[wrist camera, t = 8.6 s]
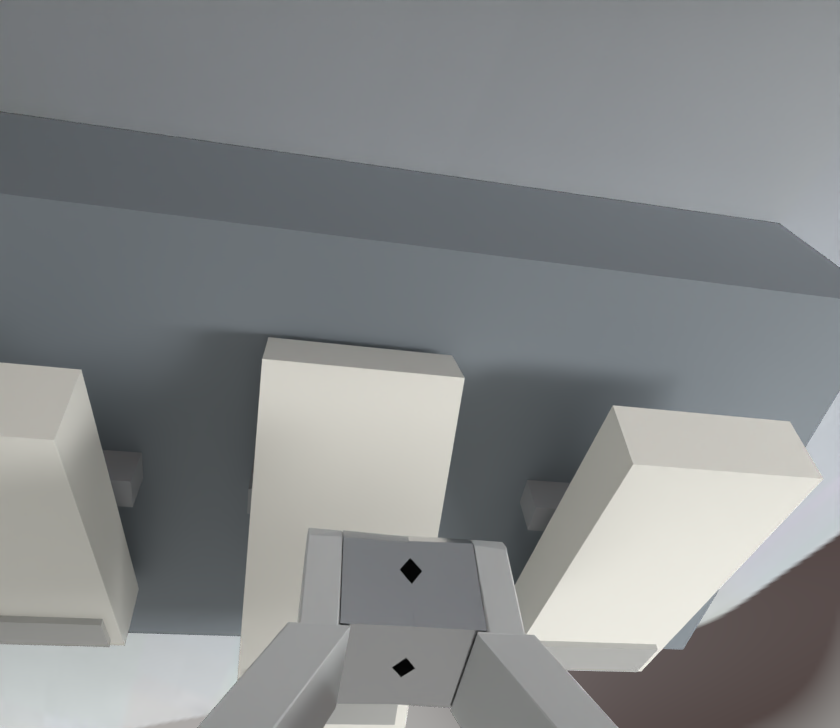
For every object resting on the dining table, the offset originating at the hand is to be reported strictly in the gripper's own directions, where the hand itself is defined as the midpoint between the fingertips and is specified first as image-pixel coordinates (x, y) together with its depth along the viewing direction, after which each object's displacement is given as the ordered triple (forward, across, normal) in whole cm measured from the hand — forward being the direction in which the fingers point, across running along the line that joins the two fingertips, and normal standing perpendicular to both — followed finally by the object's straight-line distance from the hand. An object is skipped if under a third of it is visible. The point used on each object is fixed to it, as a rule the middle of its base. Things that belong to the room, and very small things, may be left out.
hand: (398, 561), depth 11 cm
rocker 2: (+4, +1, +4) cm, 5 cm away
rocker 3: (+4, -6, +4) cm, 8 cm away
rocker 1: (+4, +8, +4) cm, 9 cm away
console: (+11, +1, +4) cm, 12 cm away
